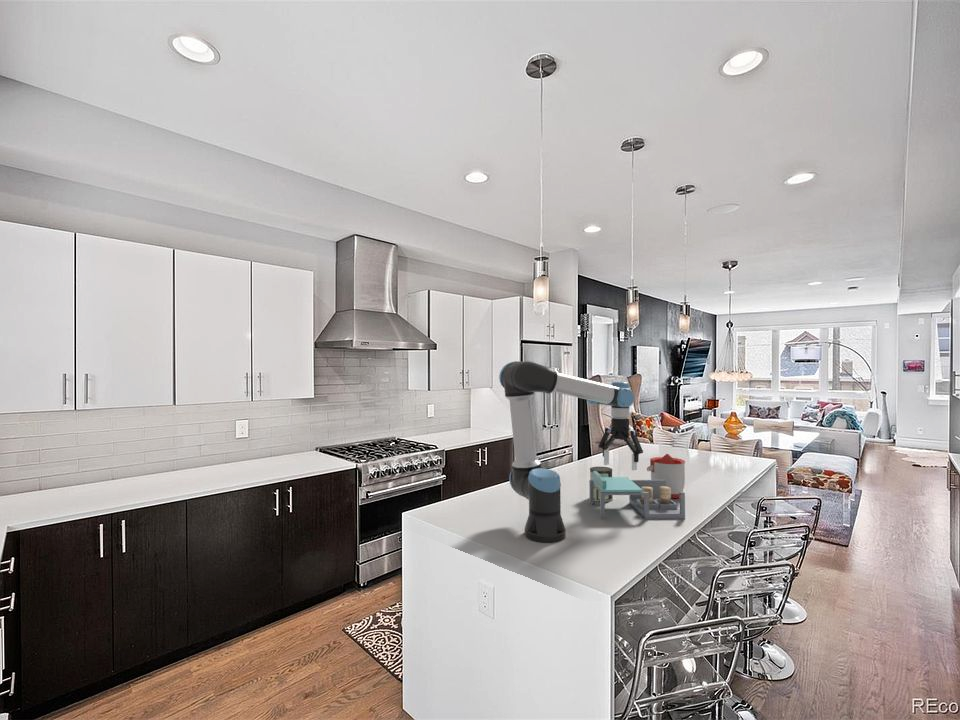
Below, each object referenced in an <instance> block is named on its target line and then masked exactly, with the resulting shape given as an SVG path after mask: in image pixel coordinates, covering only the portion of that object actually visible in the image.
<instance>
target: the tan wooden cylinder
mask: <svg viewBox="0 0 960 720" xmlns="http://www.w3.org/2000/svg"><path fill="white" fill-rule="evenodd" d="M659 490H660V504H671V500H672V498H671V488H670V487H665V486H661V487H659Z"/></svg>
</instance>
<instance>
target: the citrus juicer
mask: <svg viewBox="0 0 960 720" xmlns="http://www.w3.org/2000/svg"><path fill="white" fill-rule="evenodd" d="M649 462H650V465H649V466H647V467H646V471H647V472H650V480H666V487H670V488H671V499H680V492H684V488H685V483H686V479H685V478H686V475H685V474H686V473H685V471H686V470H685V469H686V468H685V467H686V466H685V465H686V460H684V459H681V458H676V457H672V456H671V455H670V454H669V453H665V454H664V455H663V456H659V457H658V456H657V457H652V458H650V459H649Z"/></svg>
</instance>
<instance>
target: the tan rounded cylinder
mask: <svg viewBox="0 0 960 720" xmlns="http://www.w3.org/2000/svg"><path fill="white" fill-rule="evenodd" d="M642 490H643V492H648V493H649V504H653V488H652V487H642ZM642 504H644V495H642Z"/></svg>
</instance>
